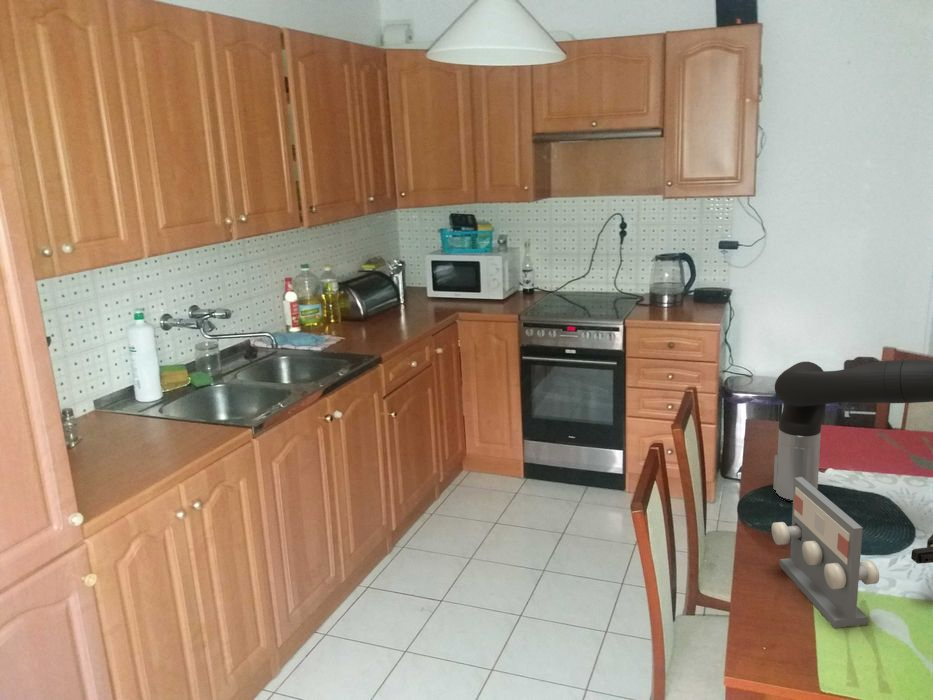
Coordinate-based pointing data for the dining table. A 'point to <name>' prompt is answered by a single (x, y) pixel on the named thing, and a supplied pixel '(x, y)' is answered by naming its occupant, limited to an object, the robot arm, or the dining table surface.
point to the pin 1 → (785, 532)
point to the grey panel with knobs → (825, 555)
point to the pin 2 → (838, 575)
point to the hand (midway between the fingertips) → (914, 556)
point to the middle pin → (812, 552)
